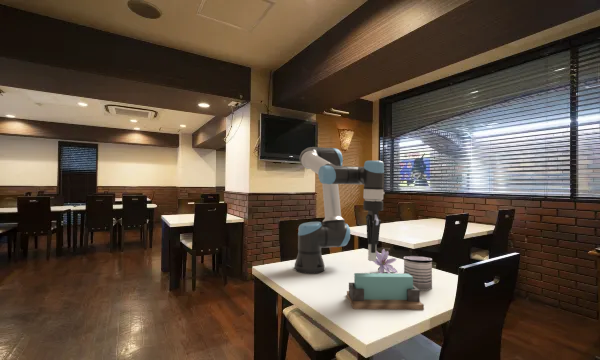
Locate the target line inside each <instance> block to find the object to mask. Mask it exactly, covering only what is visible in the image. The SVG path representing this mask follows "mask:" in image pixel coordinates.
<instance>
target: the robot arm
mask: <svg viewBox="0 0 600 360" xmlns="http://www.w3.org/2000/svg"><path fill="white" fill-rule="evenodd" d="M343 159H344V157H343V154H342V151H341V150H340V149H338V148H334V147H317V146H312V147H311V146H310V147H307V148H305V149H304V150H302V151H301V152H300V156H299V162H300V165H301V166H302V167H304V168H305V169H307V170H311V171H312V172H314V173H315V174H317V175H318V180H319V182H320V184H322V197H323V198H322V199H323V208H324V209H323V210H324V219H323V220H322V222H321V221H309V222H303V223H301V224H299V226H298V233H297V242H298V243H297V250H298V251H297V252H298V253H297V255H296V259H295V262H294V271H296V272H298V273H302V274H319V273H322V272H325V261H324V259H323V256H322V248H323V249H324V248H339V247H345V246H347V245H348V243H349V241H350V239H351V229H350V228H351V227H350V226H349V225H348V223H346V222H345V218H343V217H342V212H341V211H342V210H341V208H342V207H341V200H340V199H341V198H340V189H339V185H358V186H359V185H363V199H364V200H363V205H362V206H363V207H362V209H363V211H367V214H366V216H365V220H366V240H367V245H368V247H367V251H368V253H367V254H368V256H367V260H368V261H369V262H373V261H376V258H377V257H376V251H377V245H378V244H379V240H380V239H379V238H380V228H381V222H382V221H381V219H380V215H379V212H381V211H384V201H383V200H384V195H385V191H384V187H385V184H384V183H385V165H384V164H385V163H384V161H381V160H366V161H364V164H363V166H347V165H346V166H345V165H343V162H344V161H343Z"/></svg>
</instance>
